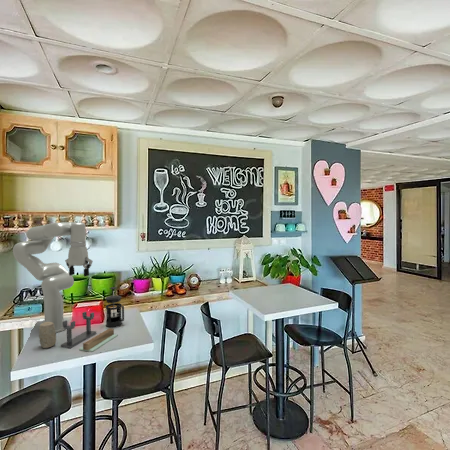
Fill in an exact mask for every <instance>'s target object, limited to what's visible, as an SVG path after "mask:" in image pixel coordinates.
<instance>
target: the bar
mask: <svg viewBox="0 0 450 450" xmlns="http://www.w3.org/2000/svg"><path fill="white" fill-rule="evenodd" d="M113 334H115V328H107V329H106V330H104V331H102V332H100V333H99V334H97V335H94V336H92V338H89V339H87V341H84V342H82V347H83V350H89V349H91V348H93V347H94V346H96V345H97V344H99V343H101V342H102V341H104V340H105V339H107V338H109V337H110V336H112V335H113Z"/></svg>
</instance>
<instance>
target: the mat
mask: <svg viewBox="0 0 450 450" xmlns="http://www.w3.org/2000/svg"><path fill="white" fill-rule="evenodd" d="M118 336H119V335H118V334H116V333H114V334H113V335H112V336H110V337H109V338H107V339H105V340H104V341H102V342H101V343H99V344H97V345H96V346H94V347H93V348H91V349H89V350H83V346H81V347H80V348H78V350H79V351H84V352H91V353H94V352H95V351H96V350H98V349H100V348H102V347H103V346H104V345H106V344H108V343H109V342H110V341H112V340H113V339H115V338H116V337H118Z"/></svg>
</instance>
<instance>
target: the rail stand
mask: <svg viewBox="0 0 450 450" xmlns="http://www.w3.org/2000/svg"><path fill="white" fill-rule="evenodd" d="M81 313H82V320H85V322H86V324H85V325H86V326H85V327H86V329H85V331H84V332H82V333H81V334H78V335H77V336H74V337H73V333H72V330H73V329H76V328H75V327H76V321H71V322H70V325H68V320H63V329H65V330H66V341H65V342H64V343H61V344H60V348H64V349H72V348H74V347H76V346H78V345H79V344H81V343H84V342H86V340H89V339H91V337H94V336H96V334H97V331H96V330H95V331H94V330H92V326H91V325H92V321H91V320H93V319H94V318H95V312H91V313H89V316H88V314H87V311H83V312H81Z"/></svg>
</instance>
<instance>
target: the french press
mask: <svg viewBox="0 0 450 450" xmlns="http://www.w3.org/2000/svg"><path fill="white" fill-rule="evenodd" d="M117 288H118V287H116V286H112V287H109V289H110V290H112V295H110V296H106V297H105V300H106V303H107V305H106V306H105V310H106V320H105V323H106V324H105V327H106V328H107V329H109V328H111V329H115V328H119V327H121V326H122V325H123V322H124V321H125V307H124V305H122V303H119V302H121V300H122V295H115V293H114V292H115V290H116V289H117ZM115 310H116V312H115ZM112 311H113V312H112Z"/></svg>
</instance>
